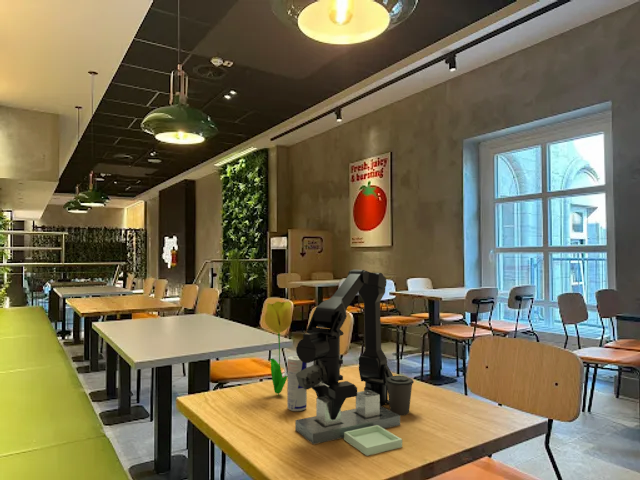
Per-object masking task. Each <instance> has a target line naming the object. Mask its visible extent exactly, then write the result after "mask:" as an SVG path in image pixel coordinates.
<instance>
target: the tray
mask: <svg viewBox="0 0 640 480" xmlns="http://www.w3.org/2000/svg"><path fill="white" fill-rule="evenodd" d="M343 441H346V442H347V443H348V444H349V445H351V446H352V447H354V448H355V449H357V450H358V451H359V452H360V453H362V454H364V455H365V456H366V457H367V456H372V455H375V454H381V453H384V452H388V451H392V450H396V449H400V448H403V438H401V437H399V436H397V435H395V434H394V433H392V432H391V431H389V430H387V429H386V428H385V429H384V428H382V427H380V426H379V425H375V426H370V427H366V428H361V429H356V430H352V431H347V432H344V438H343Z"/></svg>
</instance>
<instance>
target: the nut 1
mask: <svg viewBox="0 0 640 480" xmlns="http://www.w3.org/2000/svg"><path fill="white" fill-rule="evenodd" d="M315 409H316V411H315V412H316V414H315V416H316V422H317V423H318V424H319V425H321V426H322V427H324V428H325V427H330V426H335V425H340V424H341V411H342V408H341V409H340V411H339V413H338V415H337V417H336V419H335V420H331V415H330V406H329V399H328V398H327V397H326V396H323V397H317V396H316V408H315Z"/></svg>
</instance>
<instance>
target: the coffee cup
mask: <svg viewBox="0 0 640 480" xmlns="http://www.w3.org/2000/svg"><path fill="white" fill-rule="evenodd" d="M385 381H386V382H387V388H388V400H389V404H388V405H389V410H390V411H392V412H394V413H396V414H398V415H400V416H407V415H409V414H410V407H411V399H412V398H411V397H412V389H413V388H412V387H413V384H414V379H412V377H408V376H405V375H393V376H391V377H388V378H386V380H385Z"/></svg>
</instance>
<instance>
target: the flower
mask: <svg viewBox="0 0 640 480" xmlns="http://www.w3.org/2000/svg"><path fill="white" fill-rule="evenodd" d="M291 306H292V303H291V302H289V301H286V302H284V301H283V302H282V301H275V302H274V303H266V312H265V315H264V322H265V325H266V326H267V327H268V328H269V329H270V330H272V331H273V333H276V334H277V338H278V341H277V342H278V356H279V357H278V361H277V360H276V359H274V358H269V360H270V373H271V380H272V385H273V391H274V393H275V394H277V396H279V397H280V393H281V392H282V391H283V390H284V389H283V388H284V386H285V384H286V381H287V380H288V375H285V376H283V373H282V369H281V338H280V337H281V333H282V332H284V331H286V330H288V328H289V327H290V326H291V324H292V312H291V311H292V310H291Z"/></svg>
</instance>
